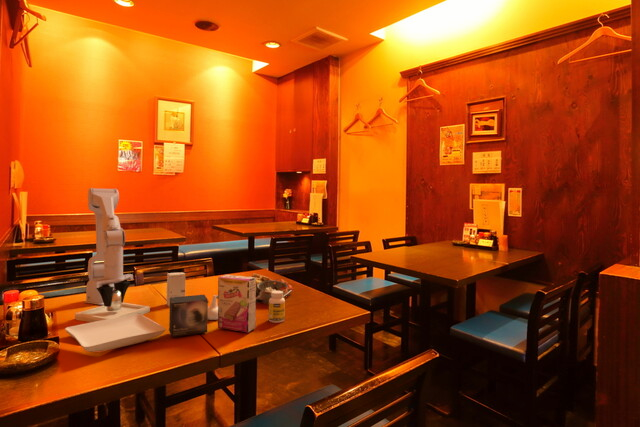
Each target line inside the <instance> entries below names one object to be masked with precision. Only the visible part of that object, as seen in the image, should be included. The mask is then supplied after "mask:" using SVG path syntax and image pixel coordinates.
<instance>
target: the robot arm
mask: <svg viewBox="0 0 640 427" xmlns="http://www.w3.org/2000/svg"><path fill="white" fill-rule="evenodd" d="M119 200H120V193H119V190H118V189H117V188H95V187H94V188H92V187H89V188H88V190H87V207H88V210H89V211H91V212H93V215H94V218H95V243H96V244H95V245H96V246H95V248H96V252H95V253H96V254H94V255H93V256H92V257H90V258H89V260H88V262H87V263H88V264H87V265H88V266H87V276H88V279H89V280H88V281H87V283H86V288H85V289H86V290H85V291H86V292H85V294H86V296H85V297H86V298H85V299H86V300H84V301H83V302H84V304H85V303H87V304H94V305H99V306H103V305H104V306H107V307H110V306H111V295H112V291H113V289H120V290H121V303H124V299H125V295H126V292H127V291H128V288H129V286H130V285H131V282H130V281H132V280H134V275H133V274H134V273H132V274H131V273H127V274H124V246H125V243H126V233H125V230H124V229H123V227H121V223H120V219H119V216H117V215H116V214H115V210H116V208H117V207H118V203H119Z"/></svg>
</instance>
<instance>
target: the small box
mask: <svg viewBox="0 0 640 427" xmlns="http://www.w3.org/2000/svg"><path fill="white" fill-rule="evenodd" d="M208 301H209V299H208V297H207V296H206V295H205V294H195V295H185V296H182V297H171V298H170V307H169V319H168V320H169V322H168V323H169V324H168V325H169V326H168V331H169V334H170V337H171V338H176V337H183V336H188V335H189V336H190V335H198V334H204V333H208V307H209V304H208V303H209V302H208Z"/></svg>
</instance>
